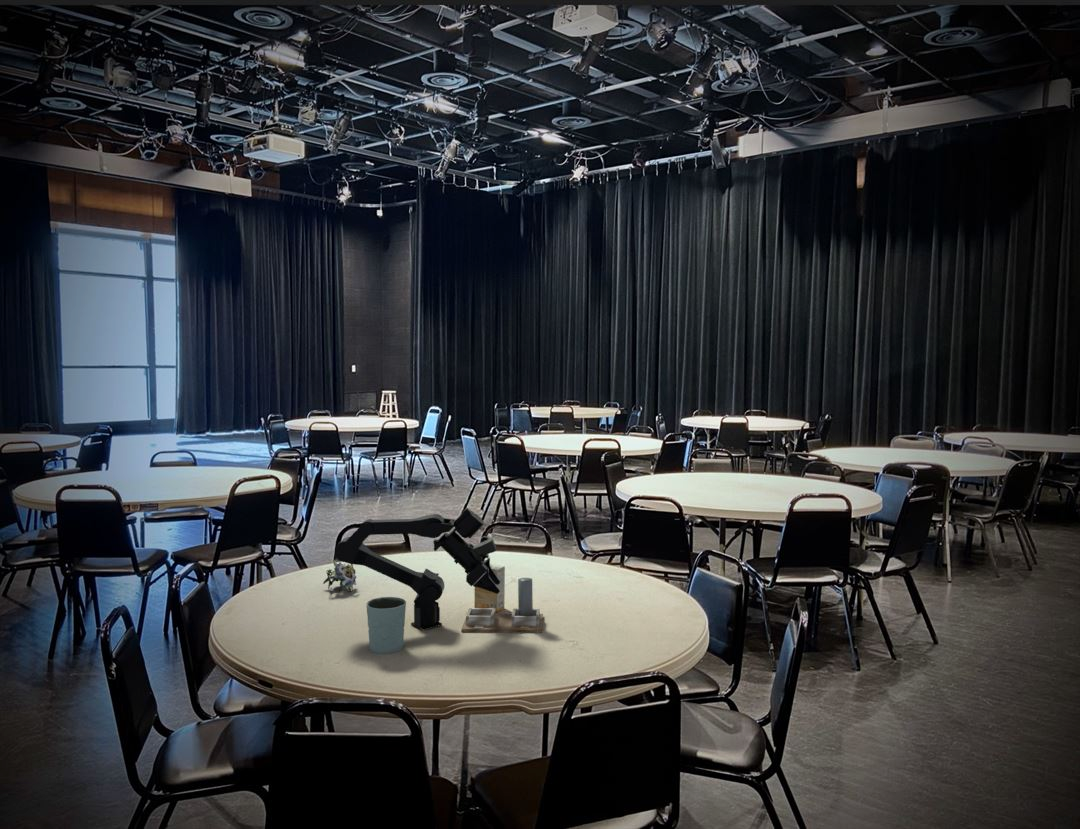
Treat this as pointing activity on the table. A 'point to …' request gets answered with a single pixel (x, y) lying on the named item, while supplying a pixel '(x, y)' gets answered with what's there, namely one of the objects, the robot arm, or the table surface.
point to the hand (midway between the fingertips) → (499, 587)
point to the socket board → (501, 621)
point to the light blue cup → (386, 624)
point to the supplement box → (489, 598)
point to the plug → (525, 597)
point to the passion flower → (342, 576)
